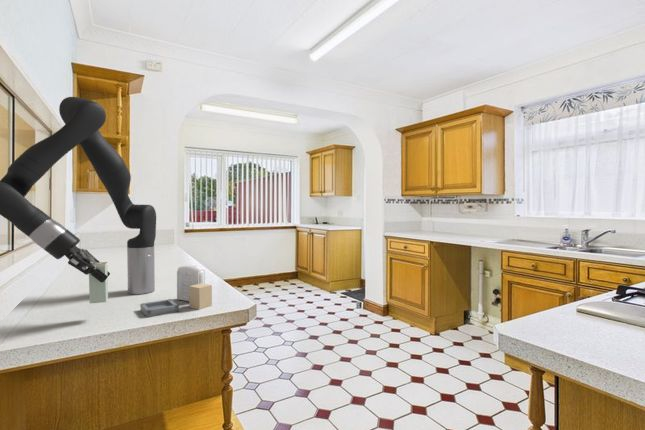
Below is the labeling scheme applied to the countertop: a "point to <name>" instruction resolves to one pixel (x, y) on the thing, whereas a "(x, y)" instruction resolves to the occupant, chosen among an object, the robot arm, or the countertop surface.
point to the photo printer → (188, 280)
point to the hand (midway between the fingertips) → (106, 278)
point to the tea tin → (98, 285)
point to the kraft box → (200, 296)
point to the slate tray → (159, 308)
